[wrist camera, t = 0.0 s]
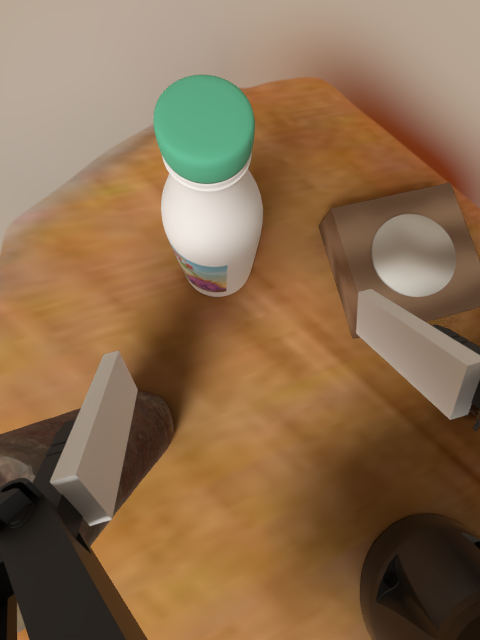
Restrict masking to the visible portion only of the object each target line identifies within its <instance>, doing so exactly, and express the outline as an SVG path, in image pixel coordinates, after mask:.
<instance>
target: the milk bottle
mask: <svg viewBox="0 0 480 640" xmlns="http://www.w3.org/2000/svg"><path fill="white" fill-rule="evenodd" d="M154 131H155V135H156V139H157V143H158V146H159V148H160V151H161V154H162V157H163V161H164V164H165V166H166V168H167V170H168V171H169V176H168V178H167V181H166V183H165V186H164V189H163V194H162V201H161V213H162V220H163V225H164V229H165V232H166V235H167V237H168V240H169V243H170V245H171V247H172V249H173V251H174V253H175V255H176V258H177V260H178V262H179V264H180V266H181V268H182V270H183V272H184V274H185V276H186V278H187V279H188V281H189V282H190V284H191V285H192V286H193V287H194V288H195V289H196V290H198V291H199V292H201V293H203V294H205V295H208V296H212V297H223V296H228V295H230V294H233V293H235V292H236V291H238V290H239V289H240V288H241V287H242V286H243V285H244V284H245V283H246V281H247V279H248V277H249V275H250V272H251V269H252V265H253V262H254V258H255V255H256V251H257V247H258V243H259V239H260V235H261V229H262V224H263V205H262V199H261V195H260V191H259V189H258V186H257V184H256V182H255V180H254V178H253V176H252V174H251V173H250V171H249V170H248V167H249V165H250V162H251V157H252V147H253V141H254V131H255V120H254V114H253V110H252V107H251V104H250V102H249V100H248V99H247V97H246V96H245V95H244V93H243V92H242V91H241V90H240V89H239V88H238V87H236V86H235V85H234V84H232V83H230V82H229V81H227V80H225V79H222V78H219V77H216V76H211V75H194V76H189V77H185V78H183V79H180V80H178V81H176V82H175V83H173V84H172V85H170V86H169V87H168V88H167V89H166V90H165V91H164V92H163V93H162V94H161V96H160V97H159V99H158V101H157V104H156V106H155V111H154Z"/></svg>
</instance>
